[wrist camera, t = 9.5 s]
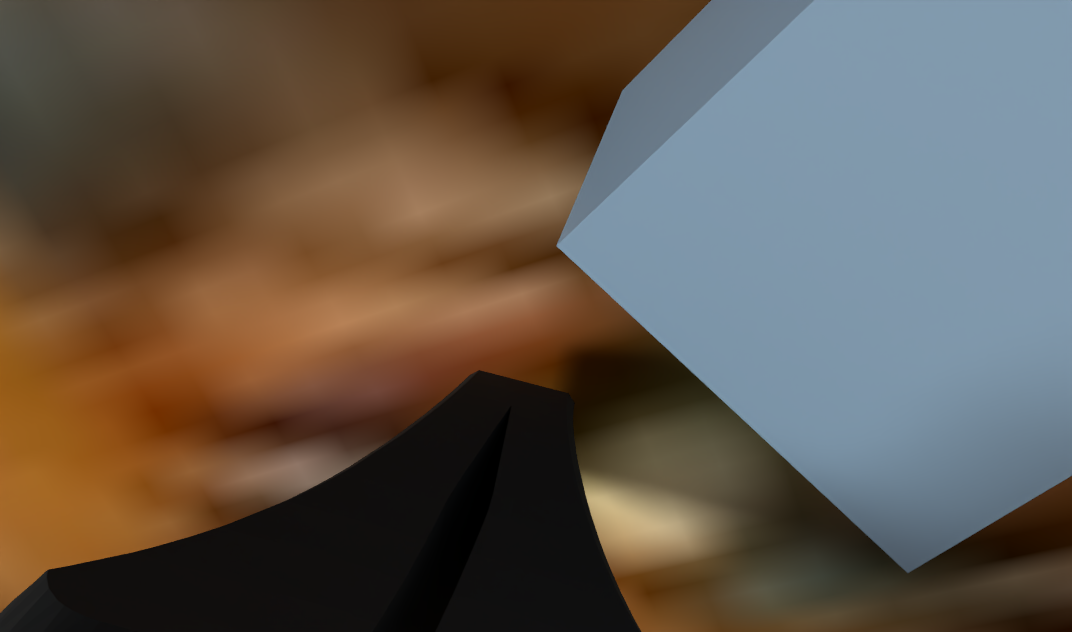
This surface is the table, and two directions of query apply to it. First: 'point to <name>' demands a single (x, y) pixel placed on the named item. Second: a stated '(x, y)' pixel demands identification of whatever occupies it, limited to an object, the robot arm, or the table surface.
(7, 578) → the table surface
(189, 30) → the table surface
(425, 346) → the table surface
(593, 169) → the plug
